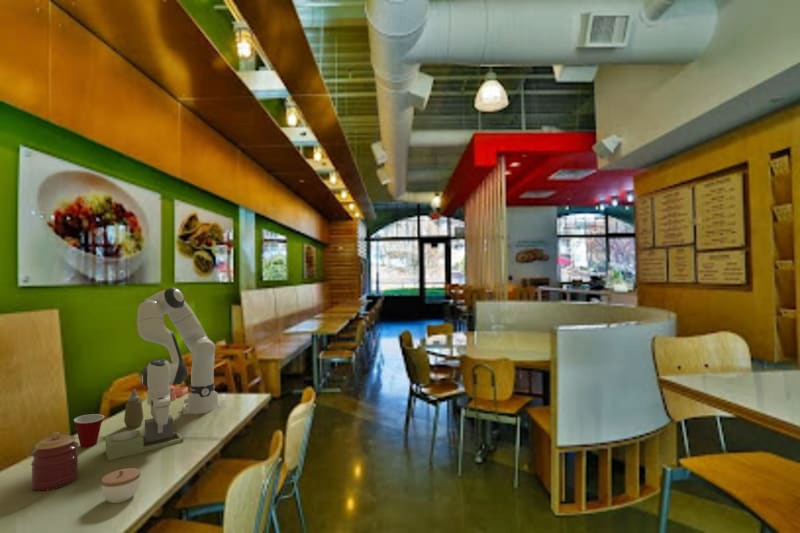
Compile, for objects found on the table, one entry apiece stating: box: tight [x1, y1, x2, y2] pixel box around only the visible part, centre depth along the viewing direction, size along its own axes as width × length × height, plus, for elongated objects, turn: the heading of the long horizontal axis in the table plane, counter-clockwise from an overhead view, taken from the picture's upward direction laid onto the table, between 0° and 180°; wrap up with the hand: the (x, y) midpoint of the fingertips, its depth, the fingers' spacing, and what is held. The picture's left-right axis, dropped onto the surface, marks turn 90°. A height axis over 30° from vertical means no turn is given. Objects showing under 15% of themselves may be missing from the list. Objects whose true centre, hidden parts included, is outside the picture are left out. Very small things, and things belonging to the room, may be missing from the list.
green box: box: [105, 430, 184, 461], centre depth 181 cm, size 12×27×7 cm, turn 128°
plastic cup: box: [73, 413, 105, 449], centre depth 184 cm, size 11×11×12 cm
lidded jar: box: [100, 467, 142, 504], centre depth 139 cm, size 11×11×9 cm
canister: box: [30, 431, 79, 491], centre depth 151 cm, size 13×13×18 cm
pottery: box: [169, 384, 189, 402], centre depth 255 cm, size 18×10×10 cm, turn 7°
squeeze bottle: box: [123, 388, 145, 429], centre depth 206 cm, size 8×8×18 cm
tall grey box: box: [144, 414, 174, 443], centre depth 184 cm, size 5×10×8 cm, turn 128°
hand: (158, 430), depth 184 cm, fingers closed on tall grey box, 5 cm apart
